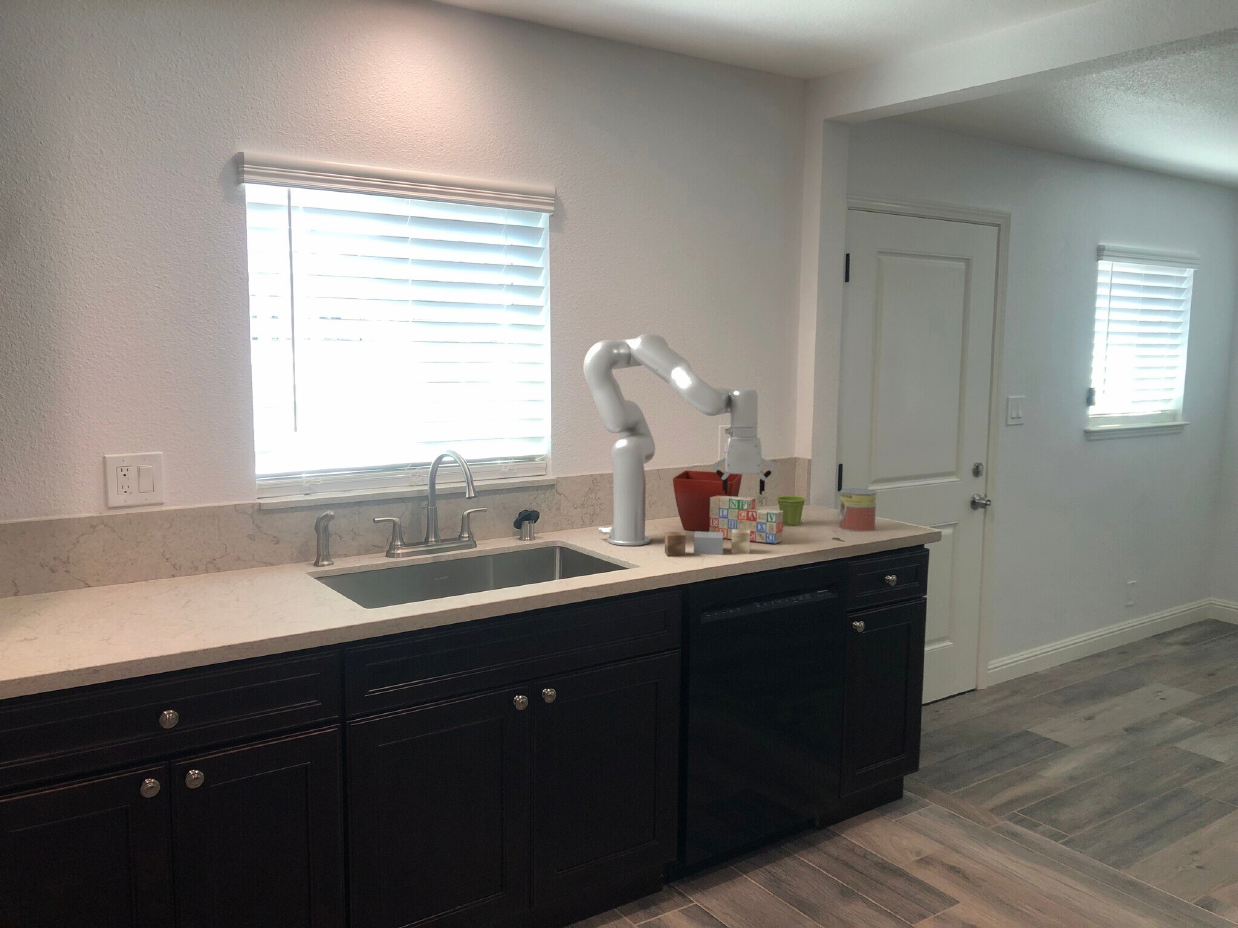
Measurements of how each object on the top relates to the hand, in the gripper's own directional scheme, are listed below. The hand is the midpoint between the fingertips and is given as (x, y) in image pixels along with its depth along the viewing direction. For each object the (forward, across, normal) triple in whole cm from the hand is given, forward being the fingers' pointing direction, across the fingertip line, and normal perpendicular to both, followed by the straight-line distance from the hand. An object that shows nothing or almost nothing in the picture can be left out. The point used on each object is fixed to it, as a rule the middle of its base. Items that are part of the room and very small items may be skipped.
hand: (743, 493), depth 264 cm
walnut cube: (+16, -19, -7) cm, 26 cm away
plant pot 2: (+17, +14, +44) cm, 49 cm away
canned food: (+18, +35, +42) cm, 58 cm away
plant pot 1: (+16, -12, +33) cm, 39 cm away
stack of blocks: (+17, 0, +17) cm, 24 cm away
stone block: (+17, -10, -1) cm, 19 cm away
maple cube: (+17, -1, 0) cm, 17 cm away
